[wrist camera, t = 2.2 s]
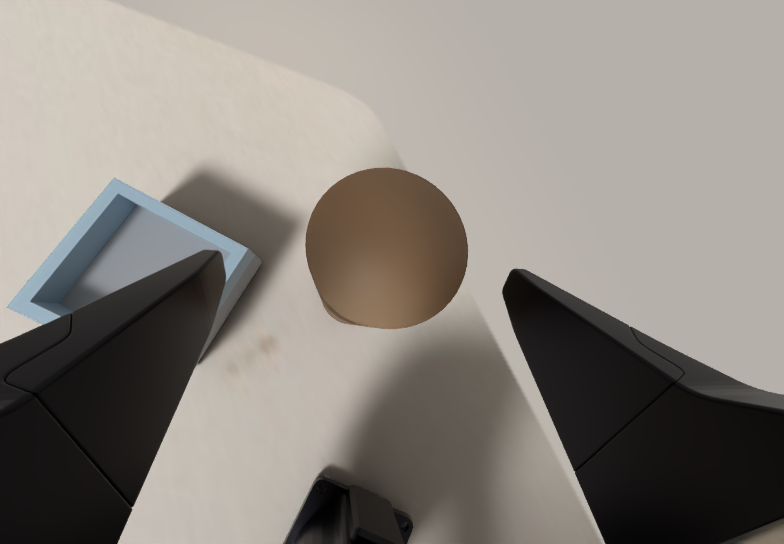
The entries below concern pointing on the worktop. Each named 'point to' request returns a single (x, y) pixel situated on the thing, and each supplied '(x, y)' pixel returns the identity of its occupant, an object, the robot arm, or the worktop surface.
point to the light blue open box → (127, 256)
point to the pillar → (385, 249)
